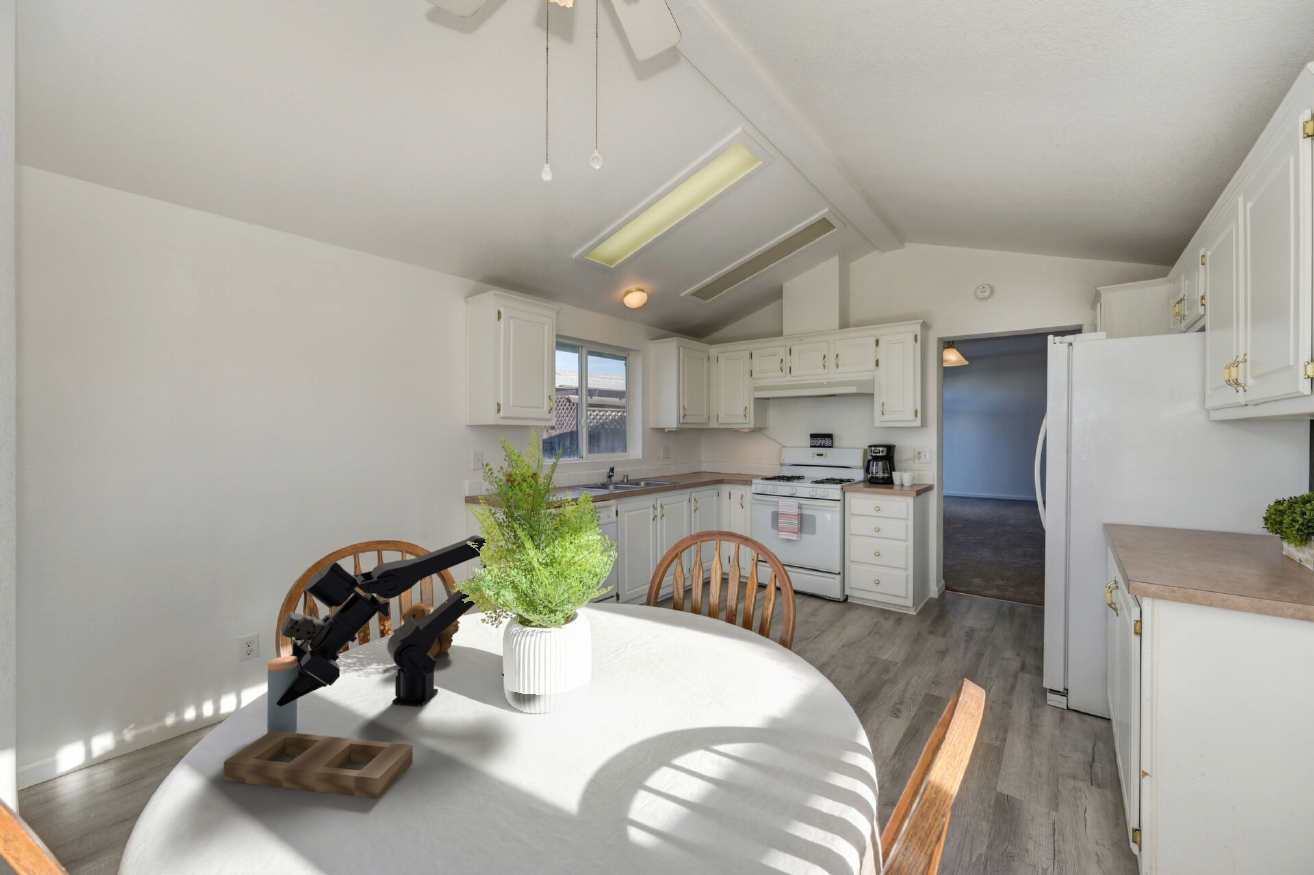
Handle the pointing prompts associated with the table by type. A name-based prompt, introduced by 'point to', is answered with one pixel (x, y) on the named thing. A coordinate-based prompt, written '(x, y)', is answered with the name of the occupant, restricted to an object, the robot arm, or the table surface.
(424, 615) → the stuffed squirrel
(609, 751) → the table surface
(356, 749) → the wooden peg holder
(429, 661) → the robot arm
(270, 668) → the peg
